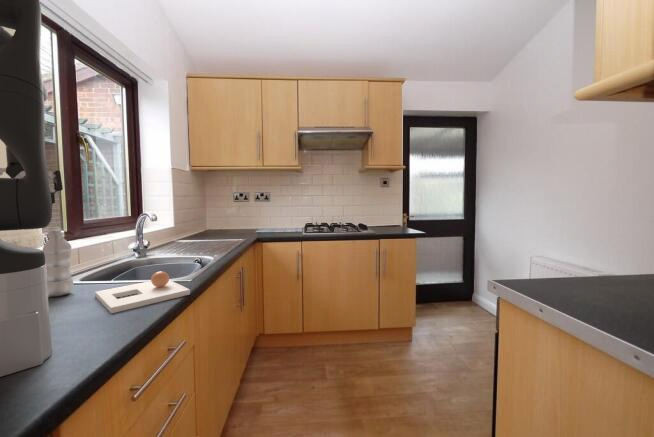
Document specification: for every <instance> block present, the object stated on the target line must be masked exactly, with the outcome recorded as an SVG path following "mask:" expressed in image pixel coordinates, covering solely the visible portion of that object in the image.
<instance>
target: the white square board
mask: <svg viewBox="0 0 654 437" xmlns="http://www.w3.org/2000/svg"><path fill="white" fill-rule="evenodd" d="M133 294H134V295H133ZM94 295H95V298H97V300H98V302H100V303H101V304H102V305H103V306H104V308H106V309H107V311H108V312H109V313H110V314H115V313H118V312H123V311H127V310H132V309H136V308H140V307H143V306H147V305H152V304H155V303H160V302H164V301H168V300H169V301H170V300H172V299H176V298H180V297H184V296H189V295H191V290H190V289H189V288H187V287H185V286H183V285H181V284H179V283H177V282H175V281H172V280H171V279H169V281H168V283H167V284H166V285H165V286H163V287H155V286H154V285H153V284H152V282H151V280H150V281H144V282H139V283H134V284H128V285H124V286H118V287H112V288H109V289H108V288H107V289H103V290H97V291H94ZM128 295H129V296H128ZM123 296H124V297H123ZM117 297H120V298H117Z"/></svg>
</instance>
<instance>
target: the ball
mask: <svg viewBox="0 0 654 437" xmlns="http://www.w3.org/2000/svg"><path fill="white" fill-rule="evenodd" d="M150 278H151V279H150V281H151V282H152V284H153V285H154V286H155V287H163V286H165V285H166V284H167V283H168V281H169V280H170V276H169V273H167V272H165V271H161V270H160V271H156V272H154V273H153V274H152V276H151V277H150Z"/></svg>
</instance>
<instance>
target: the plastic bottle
mask: <svg viewBox="0 0 654 437" xmlns="http://www.w3.org/2000/svg"><path fill="white" fill-rule="evenodd" d="M65 237H66V235H65V230H51V231H50V230H49V231H47V238H48V240H47V241H46V242H45V244H44V245H43V247H42V251H43V252H44V254H45V264H46V277H47V292H48V297H62V296H65V295H69V294H71V293H72V292H73V290H74V287H75V285H74V284H75V283H74V281H73V278H72V272H71V254H72V245H71V244H70V242H69V241H67V239H65Z"/></svg>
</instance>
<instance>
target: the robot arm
mask: <svg viewBox="0 0 654 437" xmlns="http://www.w3.org/2000/svg"><path fill="white" fill-rule="evenodd" d="M5 28H7V29H11V30H14V32H13V35H12V34H11V33H10V32H8V31H7V30H6V29H5ZM41 37H42V8H41V2H40V0H0V141H2V143H3V144H4V145H5V153H6V154H5V155H6V156H5V157H6V167H5V168H4V167H0V176H3V174H4V173H5V174H6V175H7V176H9V177H0V232H2V231H4V232H6V231H21V230H22V231H23V230H39V229H44V228H47V227H48V226H49V225H50V223H51V221H52V216H53V204H55V203H56V196H55V195H56V194H55V193H56V192H60V191H63V188H64V187H63V181H62V176H61V175H62V174H61V171H60V170H48V163H47V155H46V143H45V141H46V136H45V135H46V134H45V127H46V124H45V117H46V116H45V113H46V112H45V102H46V101H47V99H48V96H49V92H48V89H47V87H46V84H45V82H44V81H43V76H42V66H41V44H42V42H41V40H42V38H41ZM50 178H51V179H52V181H53V186H51V184H50ZM46 268H47V267H46V263H45V254H44V252H43V249H39V248H36V247H28V246H23V245H18V244H13V243H12V242H11V243H10V242H8V241H5V240H3V239H1V238H0V378H1V377H4V376H8V375H11V374H14V373H17V372H21V371H24V370H27V369H30V368H31V369H32V368H33V367H38V366H40V365H43V364H44V362H45V360H47V359H49V358H50V356H52V354H53V345H52V333H51V332H52V331H51V321H50V307H49V305H50V304H49V296H48V292H47V277H46V273H47V270H46Z"/></svg>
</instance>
